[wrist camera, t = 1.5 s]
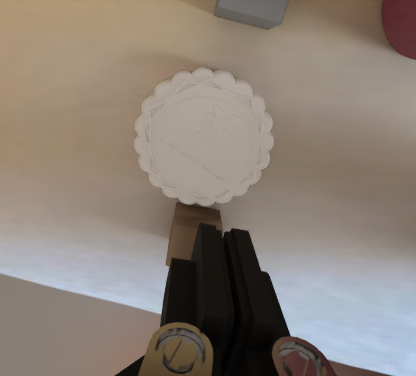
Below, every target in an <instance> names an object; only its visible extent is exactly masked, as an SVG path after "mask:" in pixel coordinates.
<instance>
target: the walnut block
mask: <svg viewBox="0 0 416 376" xmlns="http://www.w3.org/2000/svg"><path fill="white" fill-rule="evenodd" d="M199 223H205V224H211V225H216V229H217V230H221V232H222V236H223V228H222V222H221V216H220V210H215V209H210V208H204V207H199V206H193V205H187V204H182V203H177V204H176V209H175V214H174V219H173V224H172V228H171V233H170V238H169V245H168V252H167V259H166V266H170V262H171V258H172V257H173V258H179V259H186V260H190V259H191V255H192V251H193V247H194V242H195V238H196V234H197V230H198V226H199Z"/></svg>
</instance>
